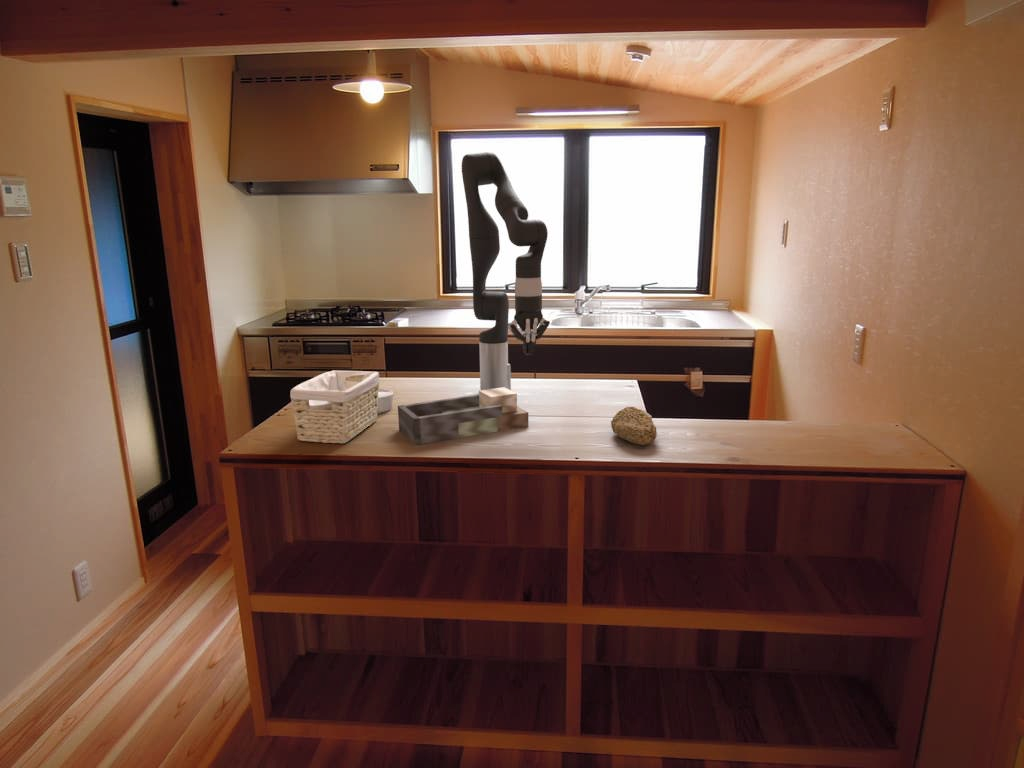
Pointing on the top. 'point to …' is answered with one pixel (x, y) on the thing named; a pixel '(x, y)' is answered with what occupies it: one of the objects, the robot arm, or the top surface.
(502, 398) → the block
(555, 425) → the top surface
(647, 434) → the sponge
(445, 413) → the lane
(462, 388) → the top surface
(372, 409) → the storage basket
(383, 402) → the ramekin
